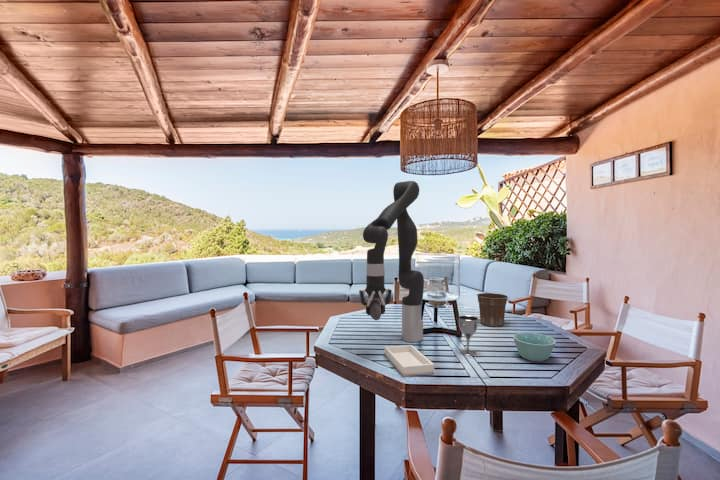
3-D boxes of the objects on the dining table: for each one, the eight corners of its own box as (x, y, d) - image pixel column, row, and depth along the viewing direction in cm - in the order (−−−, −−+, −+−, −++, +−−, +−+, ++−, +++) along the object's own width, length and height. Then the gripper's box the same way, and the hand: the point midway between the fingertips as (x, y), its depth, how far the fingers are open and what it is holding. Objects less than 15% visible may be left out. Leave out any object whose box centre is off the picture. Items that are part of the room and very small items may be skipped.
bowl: (554, 368, 133) (554, 346, 133) (509, 360, 141) (510, 339, 141) (556, 355, 146) (556, 336, 146) (515, 348, 155) (516, 330, 155)
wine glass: (467, 356, 145) (468, 321, 144) (454, 350, 152) (454, 316, 151) (481, 353, 148) (482, 318, 148) (468, 348, 156) (468, 314, 155)
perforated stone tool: (383, 322, 139) (383, 305, 139) (369, 323, 139) (369, 305, 138) (379, 313, 154) (379, 297, 153) (367, 313, 154) (367, 297, 153)
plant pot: (474, 319, 204) (474, 292, 204) (502, 320, 202) (503, 293, 201) (479, 327, 188) (480, 297, 187) (511, 328, 186) (511, 298, 185)
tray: (411, 352, 149) (411, 344, 149) (434, 373, 128) (434, 364, 128) (384, 355, 146) (384, 347, 146) (403, 377, 125) (403, 367, 125)
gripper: (389, 272, 151) (389, 311, 151) (356, 273, 148) (356, 313, 148) (394, 274, 143) (394, 315, 144) (360, 275, 140) (360, 317, 141)
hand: (375, 314), depth 146 cm, fingers closed on perforated stone tool, 5 cm apart
